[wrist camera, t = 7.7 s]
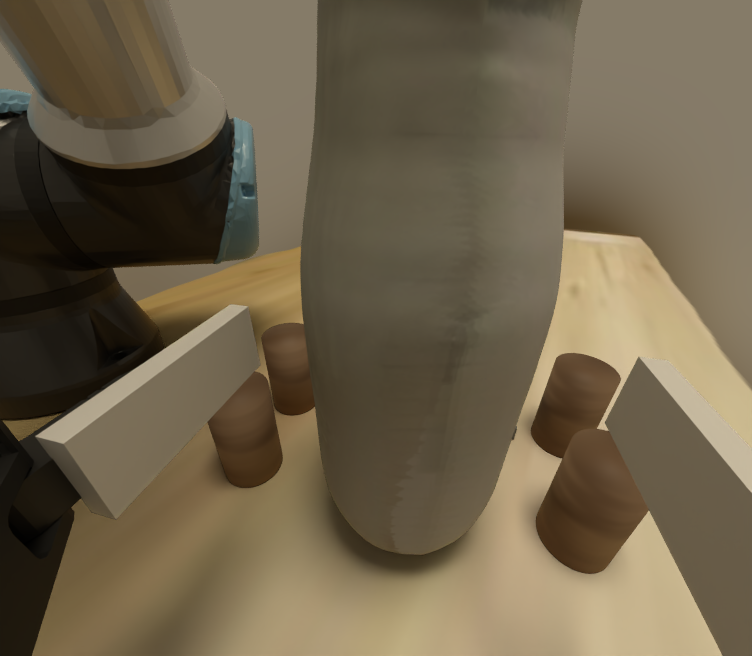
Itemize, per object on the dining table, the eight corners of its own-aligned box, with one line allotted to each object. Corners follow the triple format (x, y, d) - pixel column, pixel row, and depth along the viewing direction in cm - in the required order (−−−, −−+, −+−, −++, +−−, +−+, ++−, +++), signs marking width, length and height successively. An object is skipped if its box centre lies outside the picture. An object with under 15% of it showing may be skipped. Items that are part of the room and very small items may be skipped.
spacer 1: (222, 453, 24) (198, 381, 21) (275, 433, 26) (261, 364, 23) (229, 497, 21) (202, 422, 18) (288, 472, 23) (274, 398, 20)
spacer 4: (522, 521, 20) (554, 446, 17) (561, 493, 22) (598, 419, 18) (583, 589, 17) (638, 513, 14) (624, 550, 19) (682, 473, 15)
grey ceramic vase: (512, 557, 18) (959, -458, 4) (335, 608, 16) (140, -1008, 2) (442, 428, 27) (522, -67, 13) (319, 451, 25) (255, -112, 11)
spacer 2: (269, 393, 30) (256, 329, 27) (310, 380, 32) (303, 319, 28) (280, 421, 27) (267, 353, 24) (324, 405, 29) (318, 340, 25)
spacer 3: (520, 430, 27) (543, 362, 23) (551, 413, 28) (577, 348, 25) (565, 467, 24) (598, 395, 20) (596, 446, 25) (632, 376, 22)
